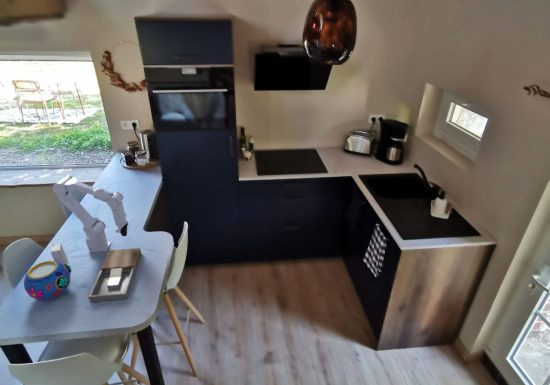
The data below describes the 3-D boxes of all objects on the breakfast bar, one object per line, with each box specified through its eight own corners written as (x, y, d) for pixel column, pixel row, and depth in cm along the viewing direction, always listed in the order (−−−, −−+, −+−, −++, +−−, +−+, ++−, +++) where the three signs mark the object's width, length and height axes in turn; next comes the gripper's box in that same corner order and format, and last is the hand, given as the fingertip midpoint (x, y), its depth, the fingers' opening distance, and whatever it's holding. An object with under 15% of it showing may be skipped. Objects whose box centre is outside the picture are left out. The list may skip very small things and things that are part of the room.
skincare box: (67, 268, 171) (60, 250, 165) (57, 270, 169) (50, 252, 163) (68, 261, 175) (61, 242, 169) (58, 263, 174) (51, 245, 168)
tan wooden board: (102, 274, 167) (100, 268, 165) (110, 256, 179) (108, 250, 177) (135, 271, 169) (134, 265, 167) (141, 253, 181) (140, 248, 179)
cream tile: (110, 279, 163) (109, 278, 162) (112, 270, 167) (111, 268, 165) (121, 279, 164) (120, 277, 163) (122, 269, 167) (121, 267, 166)
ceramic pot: (70, 303, 151) (60, 278, 144) (25, 311, 147) (12, 287, 139) (78, 276, 166) (69, 253, 158) (37, 283, 161) (26, 260, 154)
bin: (90, 302, 152) (88, 296, 150) (102, 274, 167) (100, 269, 165) (127, 299, 154) (125, 293, 152) (135, 271, 169) (134, 266, 167)
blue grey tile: (109, 278, 162) (110, 281, 163) (106, 285, 158) (107, 288, 159) (120, 277, 162) (121, 280, 163) (117, 284, 158) (118, 287, 159)
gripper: (123, 222, 167) (129, 243, 174) (130, 206, 180) (135, 227, 187) (109, 223, 166) (115, 244, 173) (116, 207, 179) (122, 227, 186)
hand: (124, 235), depth 180 cm, fingers closed
